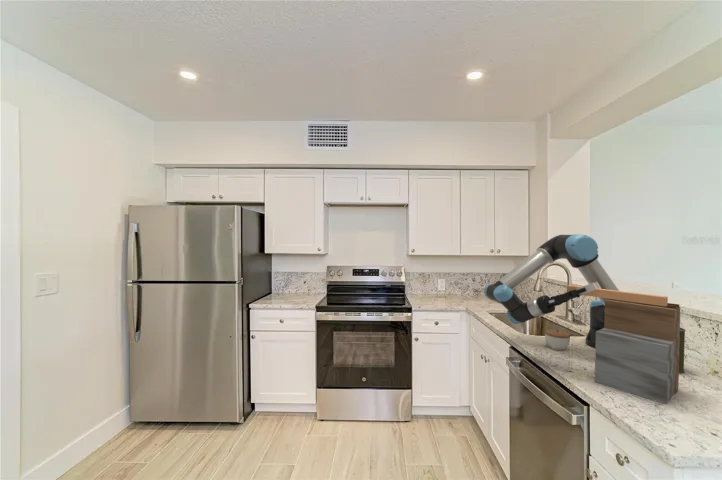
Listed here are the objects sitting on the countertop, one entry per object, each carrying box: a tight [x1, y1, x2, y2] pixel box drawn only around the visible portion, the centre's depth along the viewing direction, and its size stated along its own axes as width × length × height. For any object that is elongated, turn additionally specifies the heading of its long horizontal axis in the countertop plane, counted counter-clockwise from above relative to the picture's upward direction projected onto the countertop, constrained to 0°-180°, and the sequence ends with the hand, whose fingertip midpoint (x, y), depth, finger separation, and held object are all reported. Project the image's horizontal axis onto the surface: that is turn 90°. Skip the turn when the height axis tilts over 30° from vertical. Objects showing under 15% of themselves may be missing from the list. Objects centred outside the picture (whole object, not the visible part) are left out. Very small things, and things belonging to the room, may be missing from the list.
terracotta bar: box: [566, 284, 669, 306], centre depth 121 cm, size 3×30×3 cm, turn 37°
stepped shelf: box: [594, 298, 681, 405], centre depth 119 cm, size 18×20×31 cm
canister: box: [679, 327, 686, 374], centre depth 136 cm, size 11×10×20 cm
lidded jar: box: [544, 328, 571, 351], centre depth 159 cm, size 11×11×9 cm
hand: (596, 285), depth 126 cm, fingers closed on terracotta bar, 3 cm apart
